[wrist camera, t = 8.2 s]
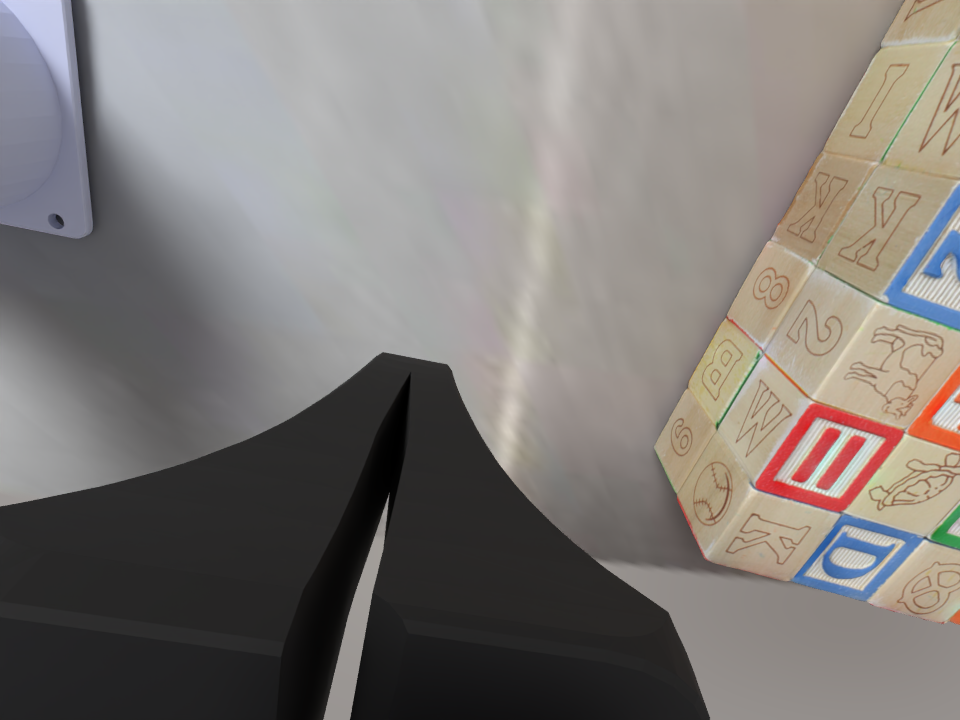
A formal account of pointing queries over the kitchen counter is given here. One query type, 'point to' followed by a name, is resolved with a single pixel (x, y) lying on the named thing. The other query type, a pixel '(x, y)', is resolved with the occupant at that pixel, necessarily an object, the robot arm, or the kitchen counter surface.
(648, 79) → the kitchen counter surface
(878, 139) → the stack of blocks
